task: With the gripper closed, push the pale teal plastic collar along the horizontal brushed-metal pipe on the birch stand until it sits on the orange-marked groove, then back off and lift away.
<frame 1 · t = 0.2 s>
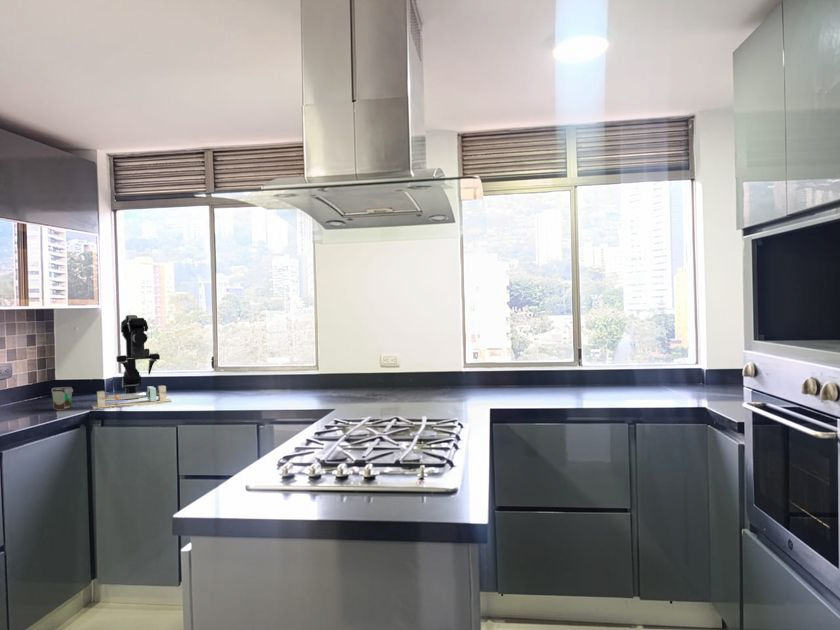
hand: (138, 375, 285), 14 cm above the countertop, fingers open, 9 cm apart
collar: (151, 393, 293), point 4 cm above the countertop, slide at 0.0 cm
food container: (65, 409, 280), on the countertop
pipe stand: (132, 404, 286), on the countertop
pipe: (132, 395, 286), point 4 cm above the countertop
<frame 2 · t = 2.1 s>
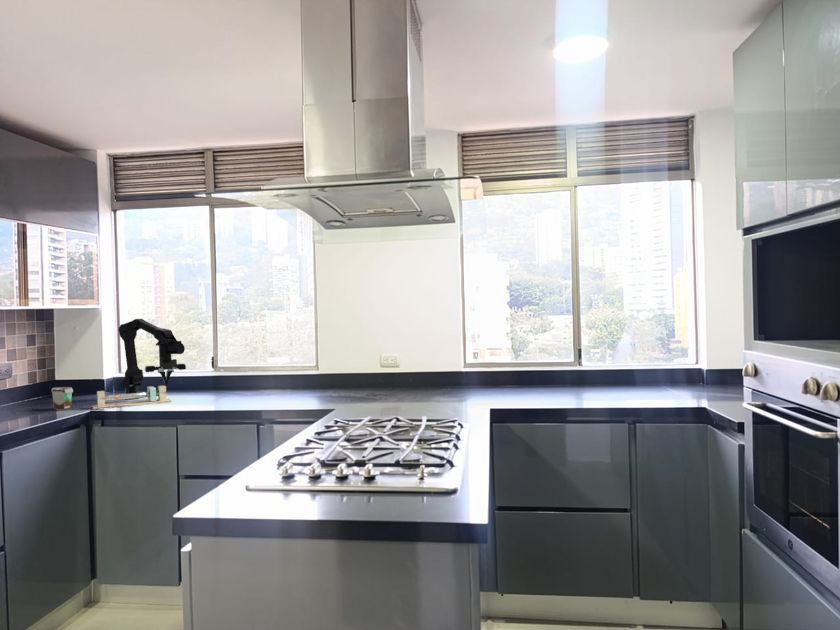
hand: (166, 384, 300), 8 cm above the countertop, fingers closed
nothing on the countertop moved.
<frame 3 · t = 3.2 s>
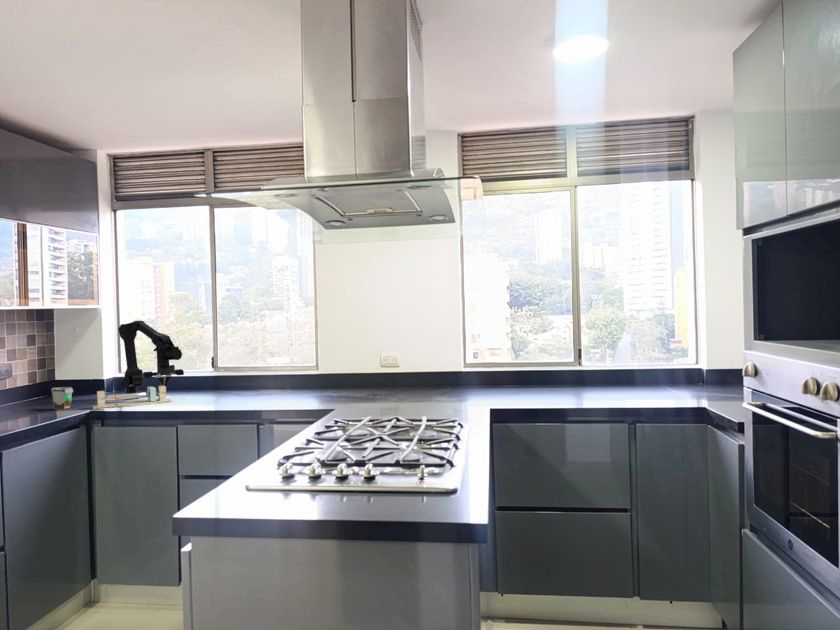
hand: (164, 390, 299), 5 cm above the countertop, fingers closed
nothing on the countertop moved.
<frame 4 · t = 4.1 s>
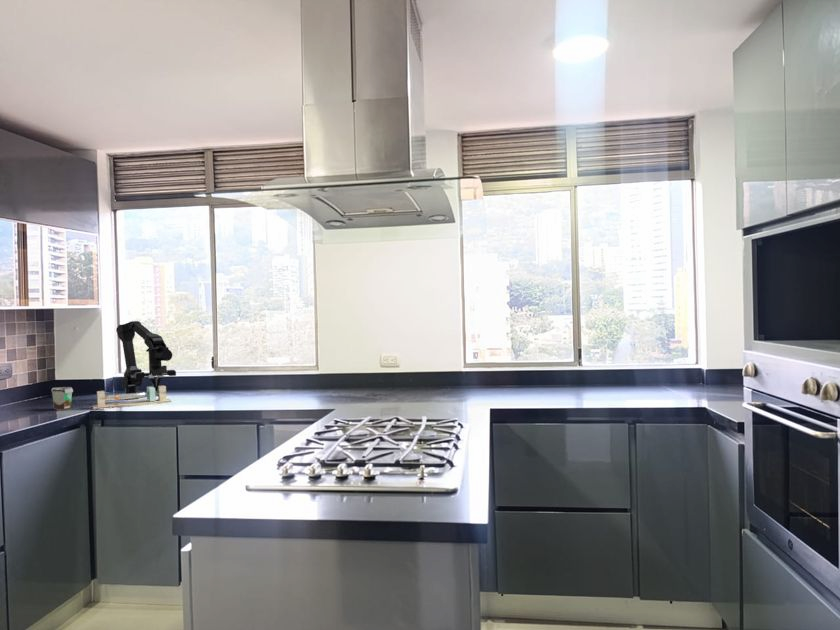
hand: (156, 391, 297), 5 cm above the countertop, fingers closed
collar: (151, 393, 293), point 4 cm above the countertop, slide at 0.3 cm, touching gripper
everything else where it was.
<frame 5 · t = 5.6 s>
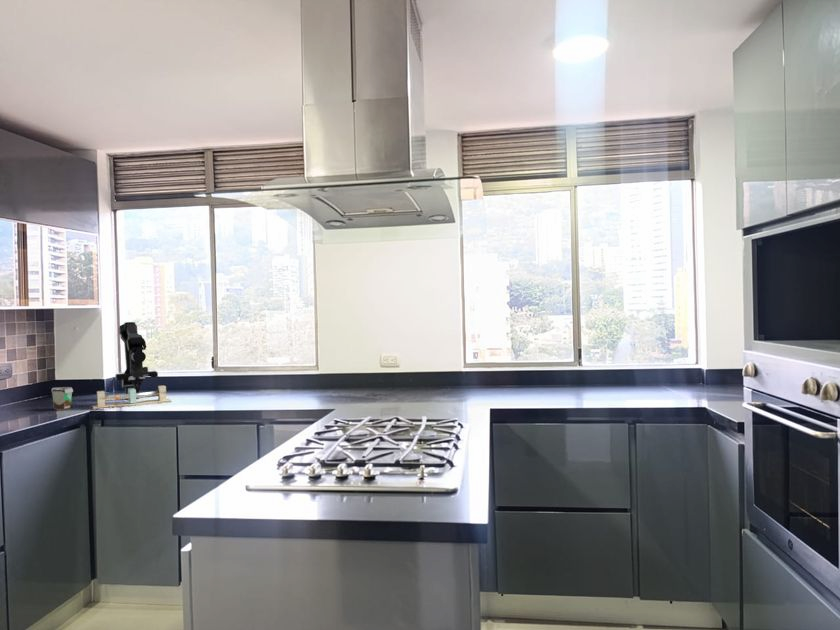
hand: (137, 392, 292), 5 cm above the countertop, fingers closed
collar: (132, 395, 288), point 4 cm above the countertop, slide at 8.9 cm, touching gripper
everything else where it was.
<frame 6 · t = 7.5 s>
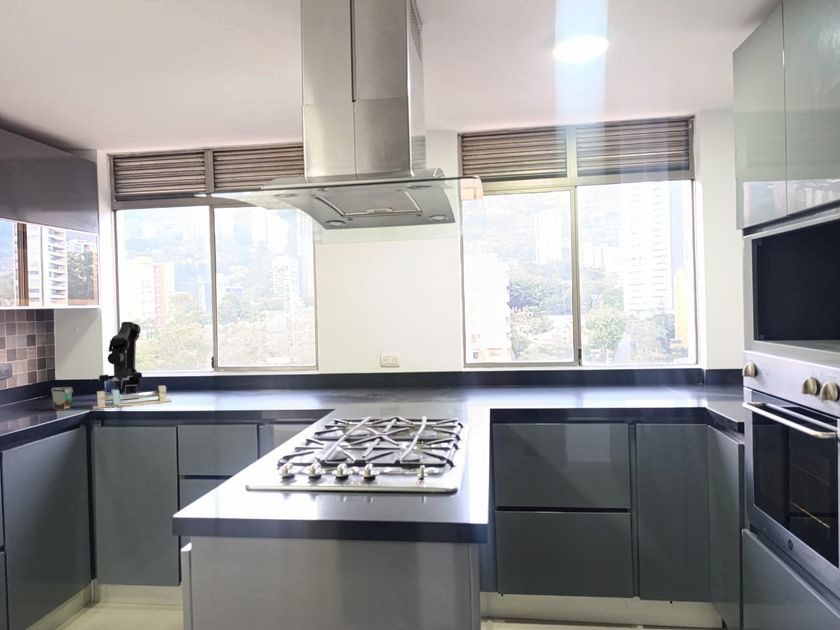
hand: (121, 394, 289), 5 cm above the countertop, fingers closed
collar: (115, 396, 284), point 4 cm above the countertop, slide at 16.1 cm, touching gripper
everything else where it was.
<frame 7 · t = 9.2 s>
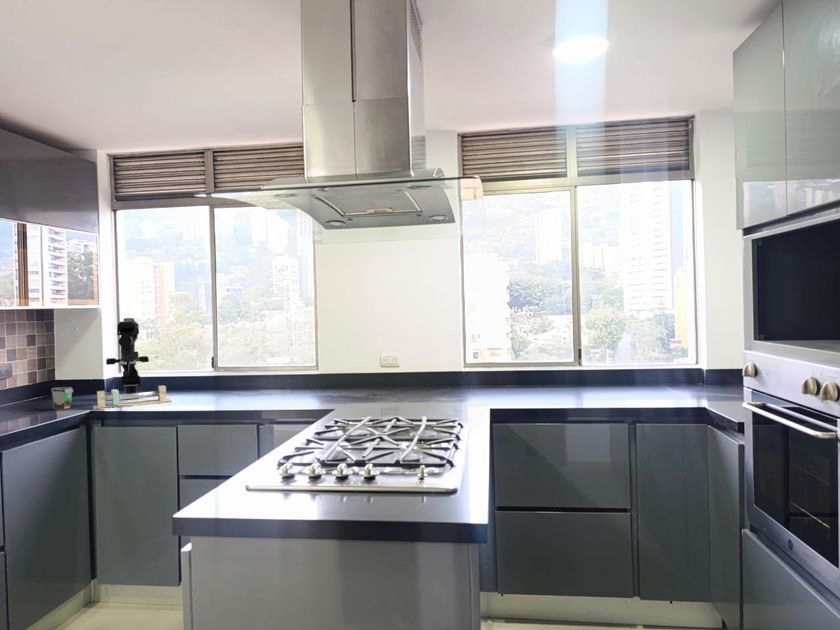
hand: (128, 377, 291), 13 cm above the countertop, fingers closed
collar: (115, 396, 284), point 4 cm above the countertop, slide at 16.2 cm
everything else where it was.
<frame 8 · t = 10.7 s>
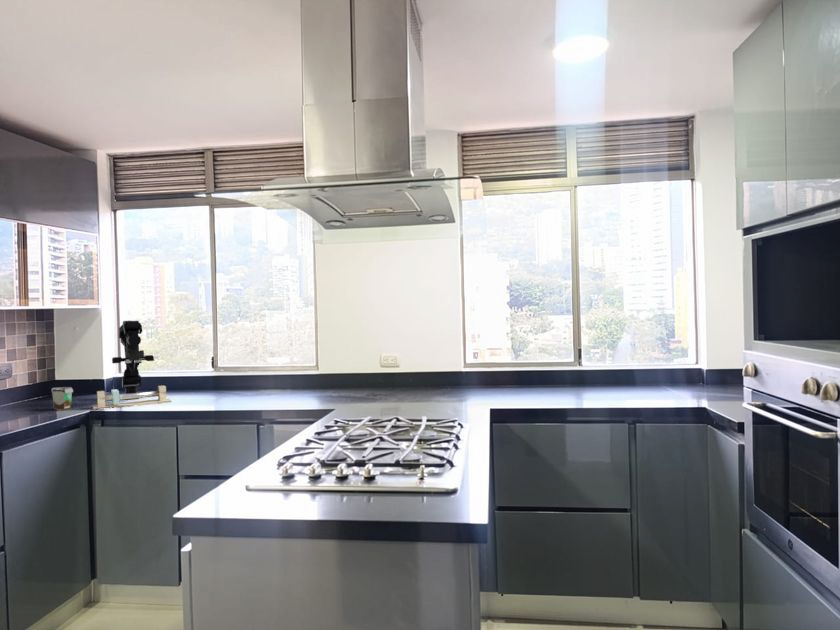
hand: (133, 376, 296), 13 cm above the countertop, fingers closed
nothing on the countertop moved.
at the end: collar slide at 16.2 cm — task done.
